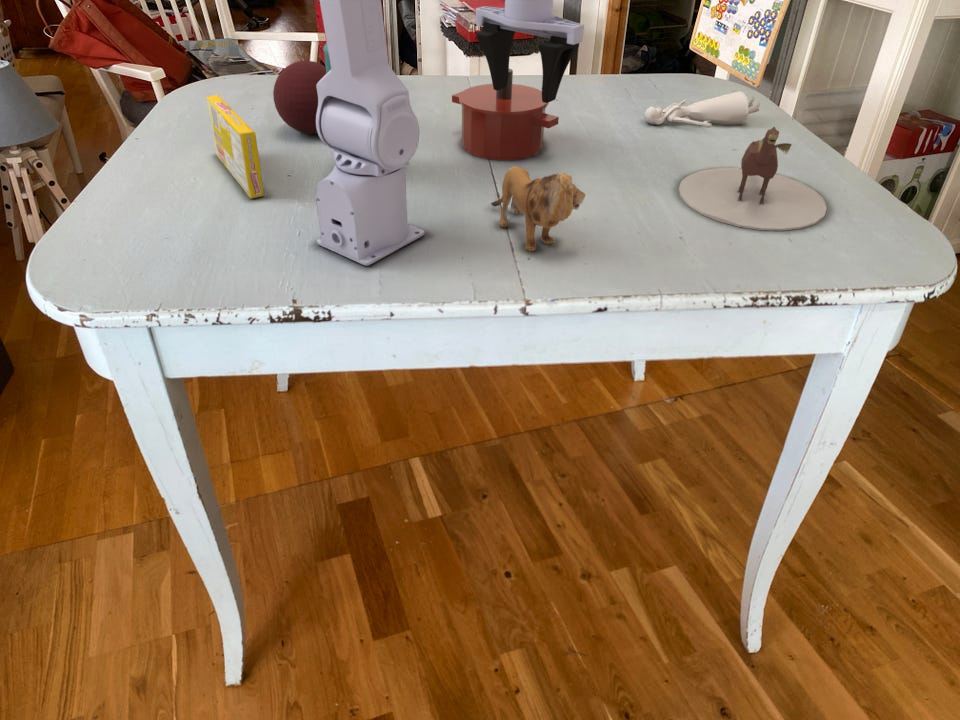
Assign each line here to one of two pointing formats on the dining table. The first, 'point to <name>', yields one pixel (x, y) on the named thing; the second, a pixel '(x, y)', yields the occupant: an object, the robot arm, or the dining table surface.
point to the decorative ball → (299, 95)
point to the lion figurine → (538, 201)
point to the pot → (503, 133)
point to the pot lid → (503, 99)
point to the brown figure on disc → (754, 192)
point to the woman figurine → (707, 111)
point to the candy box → (236, 146)
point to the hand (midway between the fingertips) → (524, 94)
